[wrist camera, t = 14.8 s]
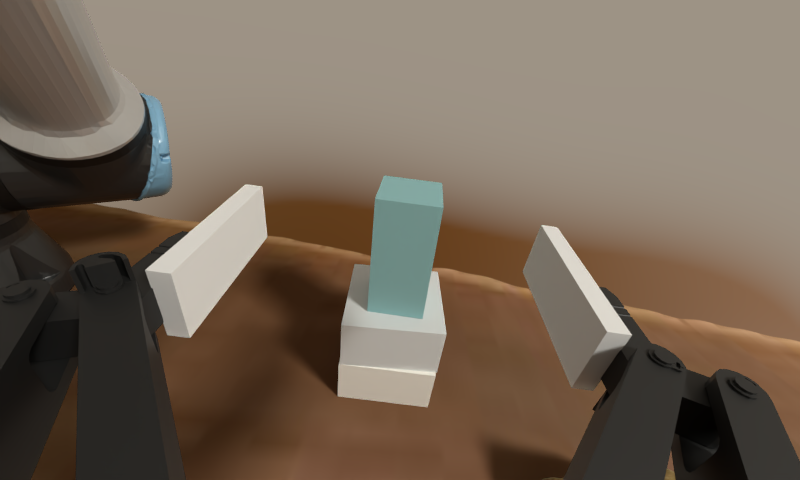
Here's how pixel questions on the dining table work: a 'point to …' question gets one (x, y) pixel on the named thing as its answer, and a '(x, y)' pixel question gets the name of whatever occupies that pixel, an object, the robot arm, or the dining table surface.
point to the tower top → (391, 330)
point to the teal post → (403, 245)
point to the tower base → (385, 384)
